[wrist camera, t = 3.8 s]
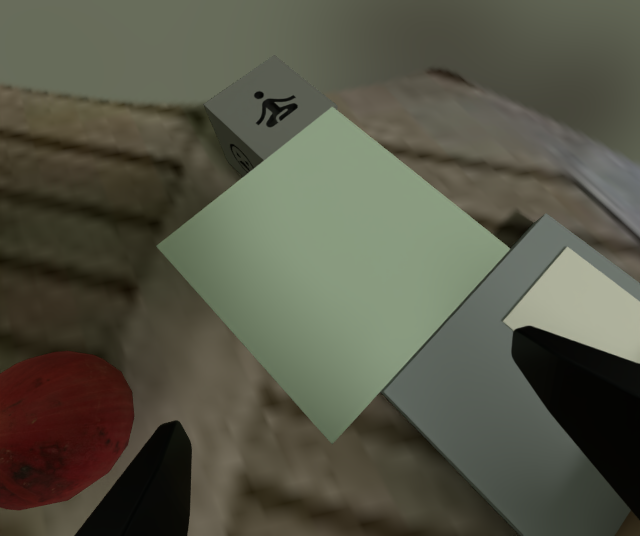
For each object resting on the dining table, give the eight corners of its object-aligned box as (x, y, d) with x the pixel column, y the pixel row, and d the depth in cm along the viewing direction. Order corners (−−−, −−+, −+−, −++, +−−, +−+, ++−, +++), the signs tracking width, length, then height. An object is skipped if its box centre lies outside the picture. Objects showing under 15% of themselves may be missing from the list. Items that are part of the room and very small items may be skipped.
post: (325, 405, 18) (332, 444, 6) (262, 335, 19) (155, 246, 7) (390, 337, 19) (510, 248, 7) (326, 275, 20) (332, 106, 8)
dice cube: (277, 210, 22) (265, 161, 17) (227, 162, 23) (203, 104, 18) (334, 163, 23) (337, 105, 18) (284, 119, 24) (274, 54, 19)
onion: (183, 431, 18) (79, 464, 10) (77, 508, 17) (-127, 609, 9) (133, 337, 19) (10, 306, 12) (33, 403, 18) (-173, 414, 11)
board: (663, 683, 14) (695, 710, 13) (379, 391, 18) (384, 391, 17) (801, 426, 18) (838, 429, 16) (534, 222, 21) (547, 212, 20)
